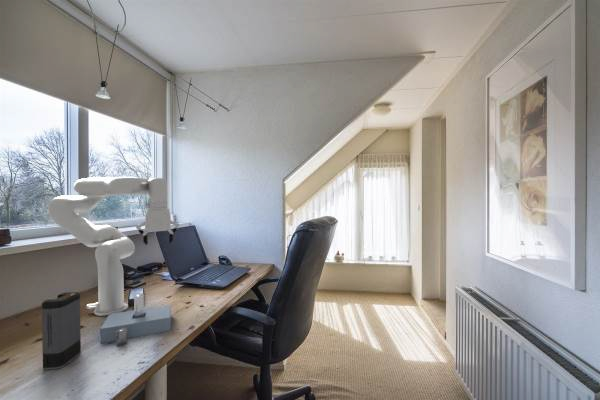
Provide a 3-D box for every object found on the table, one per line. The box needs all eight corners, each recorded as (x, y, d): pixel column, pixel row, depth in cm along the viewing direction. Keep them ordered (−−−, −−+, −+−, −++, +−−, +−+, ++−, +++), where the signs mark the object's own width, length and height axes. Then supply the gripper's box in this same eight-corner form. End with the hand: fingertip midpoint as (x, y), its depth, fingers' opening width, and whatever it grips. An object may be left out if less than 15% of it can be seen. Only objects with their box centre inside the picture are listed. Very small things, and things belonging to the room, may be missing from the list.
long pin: (133, 331, 105) (133, 296, 105) (135, 327, 108) (134, 294, 108) (143, 329, 106) (143, 295, 106) (144, 325, 109) (144, 293, 109)
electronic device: (63, 353, 90) (63, 292, 90) (83, 352, 91) (82, 291, 91) (39, 370, 81) (38, 302, 81) (61, 369, 81) (60, 301, 81)
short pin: (115, 347, 93) (115, 332, 93) (117, 343, 96) (117, 328, 96) (126, 345, 94) (126, 330, 94) (128, 341, 97) (127, 326, 97)
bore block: (100, 343, 96) (100, 328, 96) (109, 326, 109) (109, 313, 109) (170, 330, 105) (169, 317, 105) (171, 316, 118) (170, 304, 118)
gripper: (134, 206, 117) (135, 246, 117) (179, 205, 124) (179, 243, 124) (137, 205, 124) (137, 243, 124) (179, 205, 131) (179, 241, 131)
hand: (158, 243), depth 124 cm, fingers open, 9 cm apart
